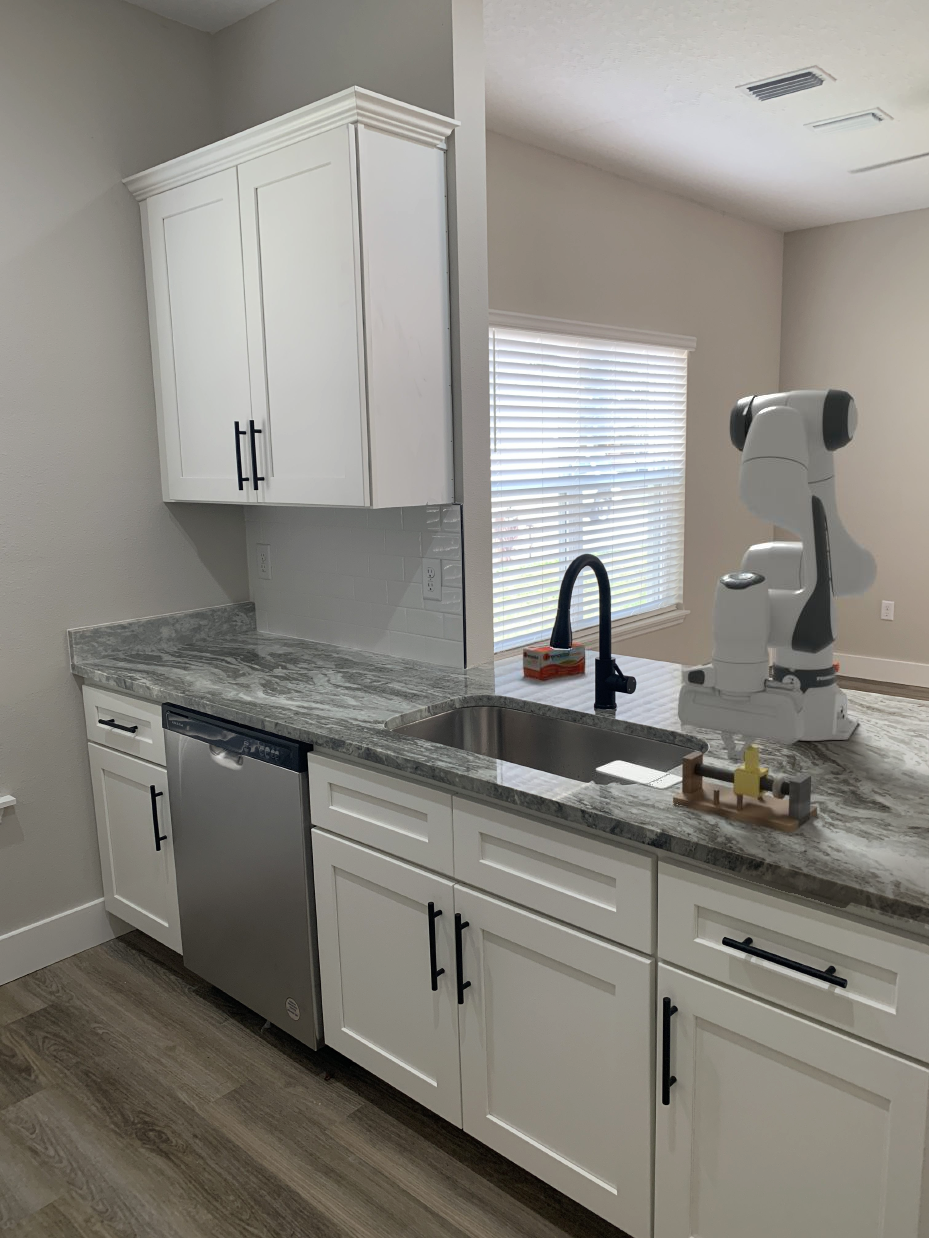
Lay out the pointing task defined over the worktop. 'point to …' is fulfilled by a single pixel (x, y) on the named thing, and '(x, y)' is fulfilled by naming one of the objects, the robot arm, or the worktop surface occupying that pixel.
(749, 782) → the sleeve
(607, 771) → the smartphone
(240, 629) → the worktop surface
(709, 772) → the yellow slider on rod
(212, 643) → the worktop surface
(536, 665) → the medicine box
